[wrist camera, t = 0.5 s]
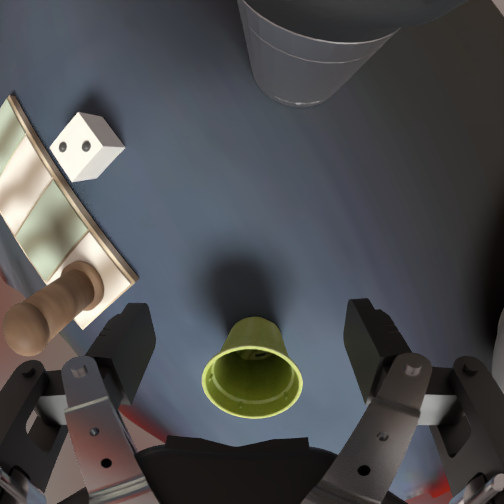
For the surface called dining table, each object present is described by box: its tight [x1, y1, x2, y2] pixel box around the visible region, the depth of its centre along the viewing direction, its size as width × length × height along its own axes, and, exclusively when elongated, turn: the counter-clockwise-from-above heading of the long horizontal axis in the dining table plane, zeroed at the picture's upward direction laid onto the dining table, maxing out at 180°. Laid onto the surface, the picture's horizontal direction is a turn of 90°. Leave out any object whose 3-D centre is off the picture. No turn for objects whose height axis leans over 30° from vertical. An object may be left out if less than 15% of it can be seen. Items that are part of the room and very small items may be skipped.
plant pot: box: [202, 317, 303, 419], centre depth 30 cm, size 9×9×9 cm
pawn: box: [3, 260, 104, 356], centre depth 26 cm, size 6×6×14 cm
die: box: [50, 112, 126, 182], centre depth 27 cm, size 5×5×6 cm
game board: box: [0, 95, 139, 330], centre depth 31 cm, size 32×12×2 cm, turn 38°
